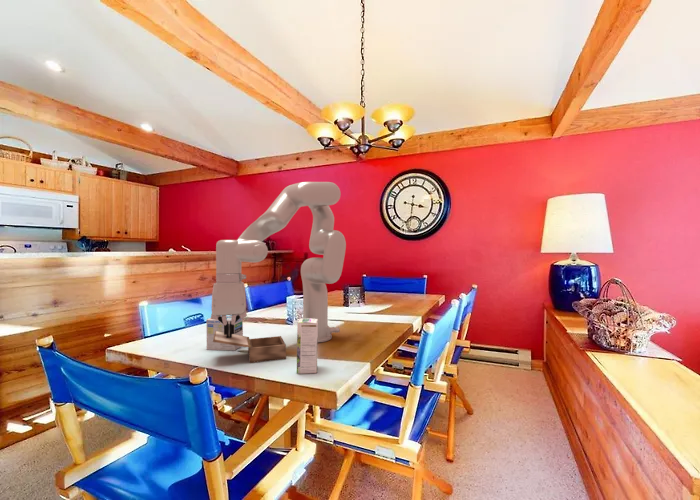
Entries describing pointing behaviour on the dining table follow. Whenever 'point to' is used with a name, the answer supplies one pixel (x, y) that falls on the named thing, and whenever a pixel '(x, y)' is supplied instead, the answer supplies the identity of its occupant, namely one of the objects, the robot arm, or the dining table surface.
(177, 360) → the dining table surface
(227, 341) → the lid
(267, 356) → the box
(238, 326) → the light bulb box
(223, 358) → the dining table surface
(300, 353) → the syrup box
